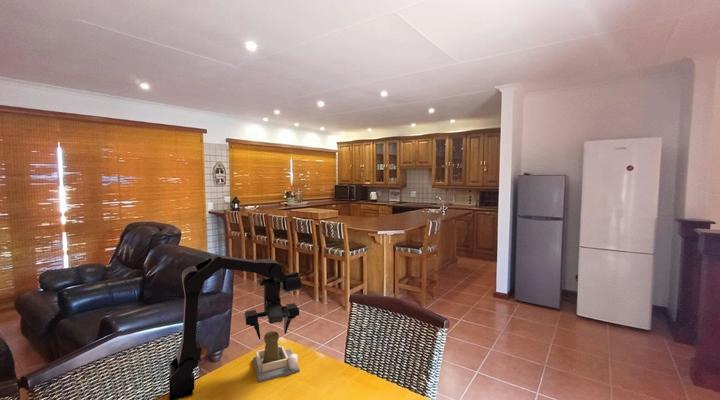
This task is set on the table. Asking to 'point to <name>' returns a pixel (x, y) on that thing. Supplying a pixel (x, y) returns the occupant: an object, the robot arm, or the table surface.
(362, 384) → the table surface
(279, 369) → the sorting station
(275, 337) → the cork
